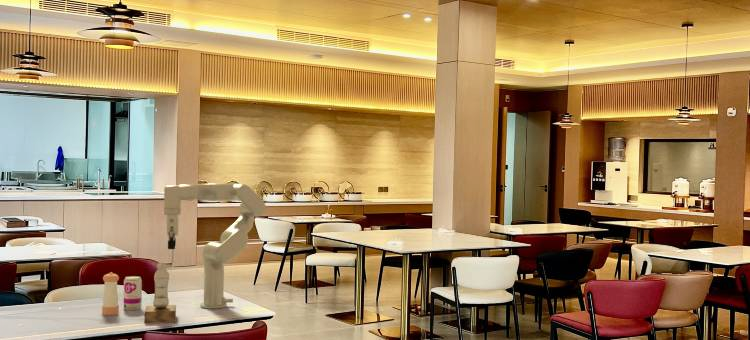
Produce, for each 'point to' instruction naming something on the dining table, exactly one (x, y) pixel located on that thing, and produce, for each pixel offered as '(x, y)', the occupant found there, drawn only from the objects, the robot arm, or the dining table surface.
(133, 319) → the dining table surface
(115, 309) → the pepper shaker
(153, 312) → the walnut block
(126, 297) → the supplement can
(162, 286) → the plastic bottle
